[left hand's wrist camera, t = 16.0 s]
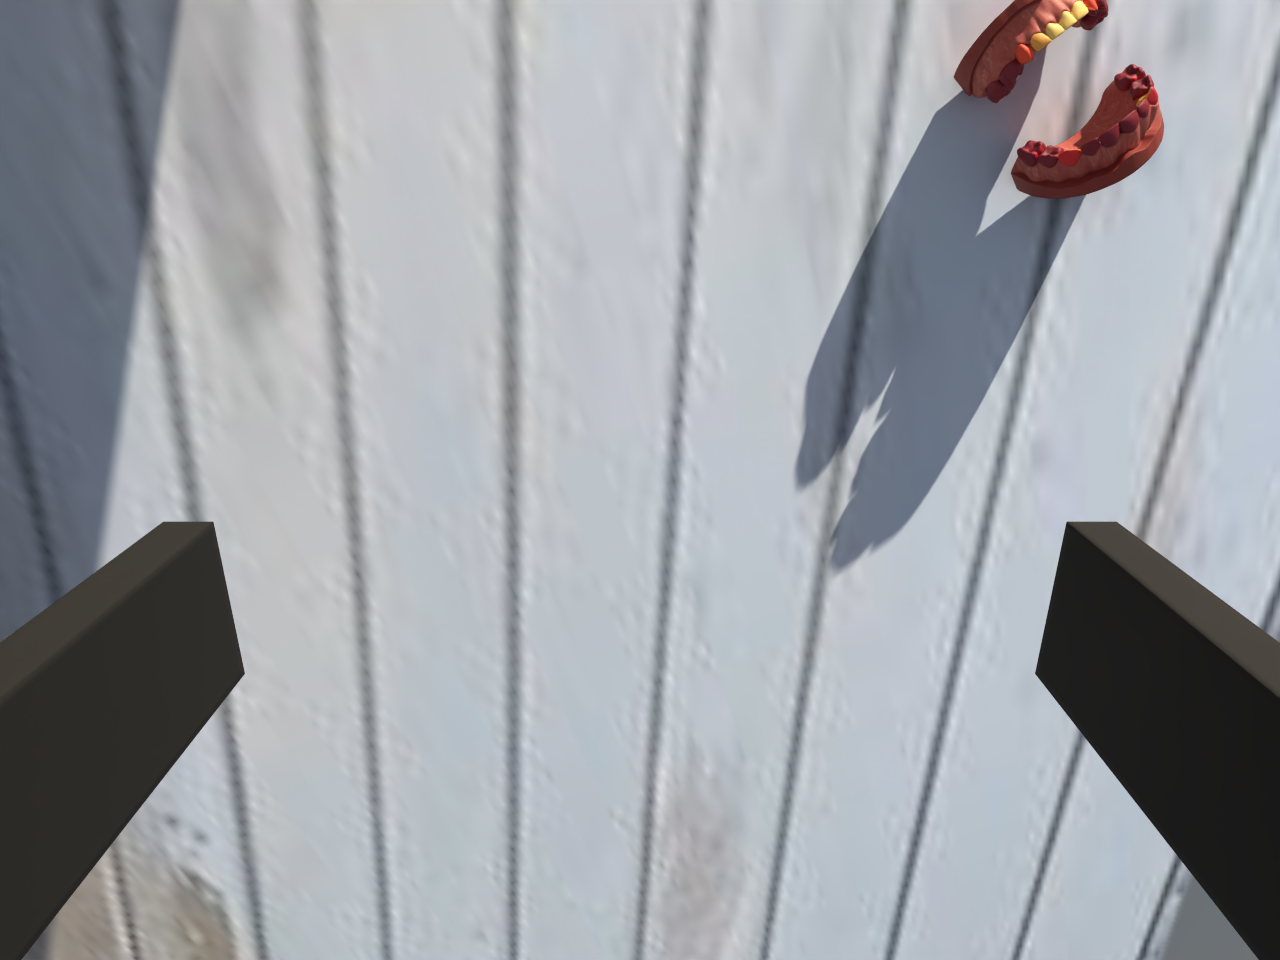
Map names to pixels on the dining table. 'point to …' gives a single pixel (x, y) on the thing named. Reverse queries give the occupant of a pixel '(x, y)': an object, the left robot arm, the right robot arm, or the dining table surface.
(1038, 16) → the dental model
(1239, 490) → the dining table surface
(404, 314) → the dining table surface
